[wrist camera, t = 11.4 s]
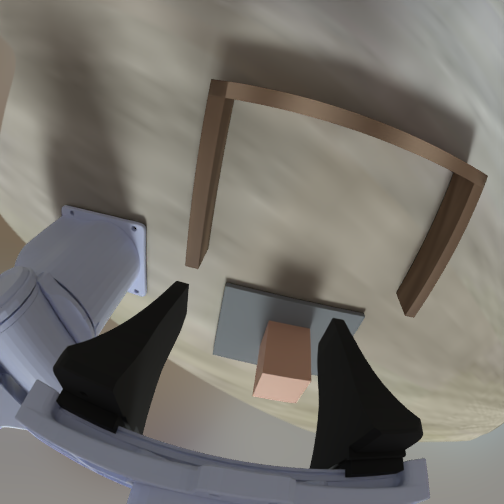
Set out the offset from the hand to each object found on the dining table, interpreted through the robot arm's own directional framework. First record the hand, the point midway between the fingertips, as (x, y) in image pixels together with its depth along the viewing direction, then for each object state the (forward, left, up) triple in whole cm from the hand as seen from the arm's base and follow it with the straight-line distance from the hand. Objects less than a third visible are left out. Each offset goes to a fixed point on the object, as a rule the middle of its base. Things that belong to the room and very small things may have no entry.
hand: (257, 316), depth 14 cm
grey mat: (+4, -11, -9) cm, 15 cm away
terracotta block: (+4, -11, -9) cm, 15 cm away
